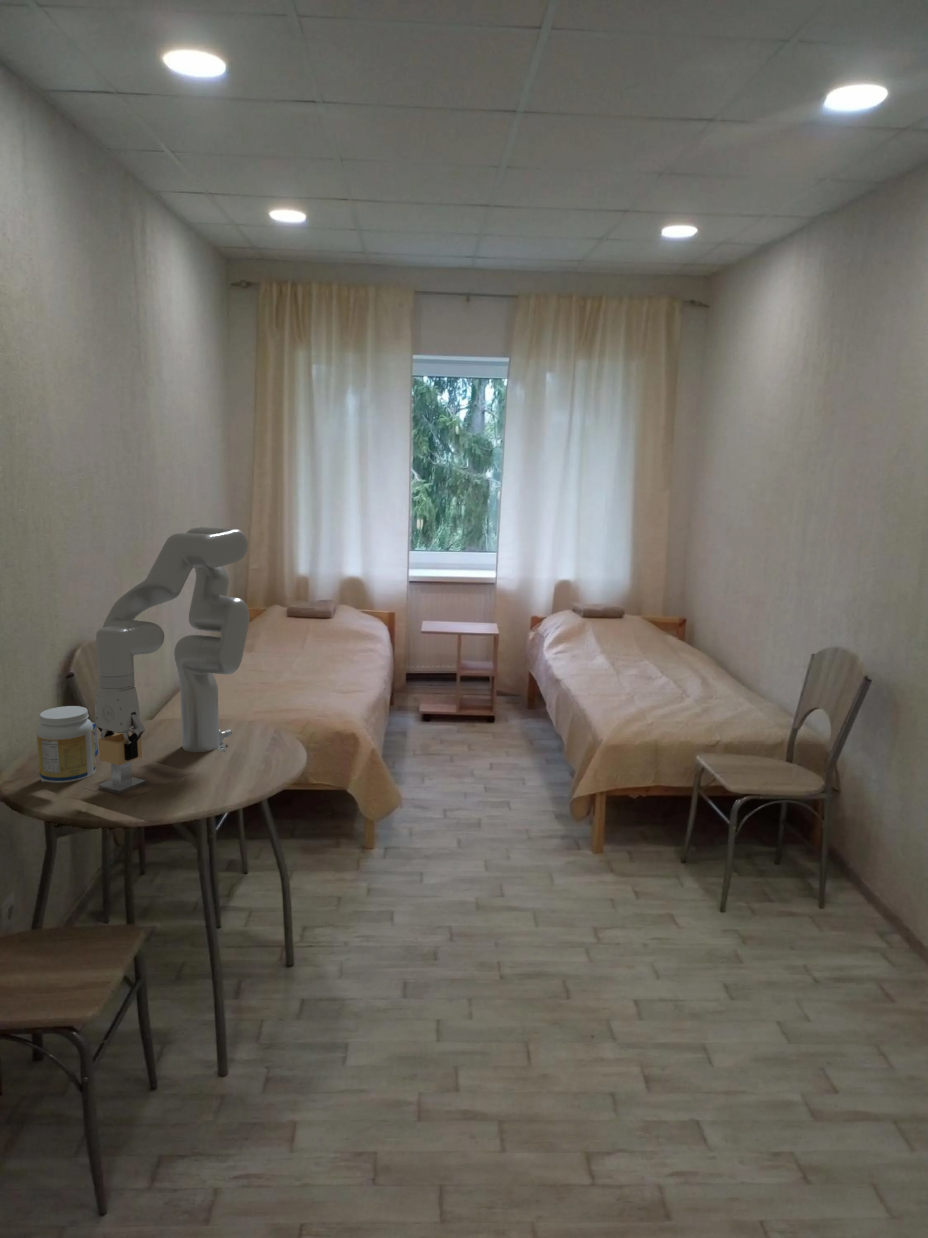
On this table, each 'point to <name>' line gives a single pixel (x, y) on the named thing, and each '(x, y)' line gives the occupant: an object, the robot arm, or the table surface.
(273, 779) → the table surface
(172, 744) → the table surface
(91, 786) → the board
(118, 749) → the collar
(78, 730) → the supplement tub
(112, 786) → the grey stepped block
